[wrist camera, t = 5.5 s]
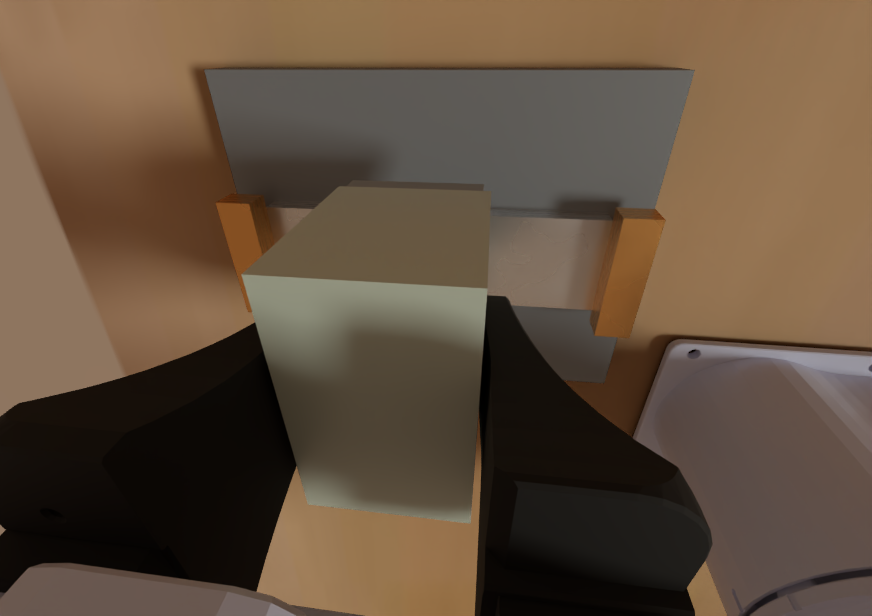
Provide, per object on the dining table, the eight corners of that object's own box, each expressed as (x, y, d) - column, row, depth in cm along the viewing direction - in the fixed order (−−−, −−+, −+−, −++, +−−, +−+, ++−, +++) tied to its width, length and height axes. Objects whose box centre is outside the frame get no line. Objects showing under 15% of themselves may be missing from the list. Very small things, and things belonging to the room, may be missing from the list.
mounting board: (679, 68, 13) (694, 70, 12) (598, 365, 19) (604, 383, 18) (224, 67, 14) (204, 69, 13) (291, 342, 21) (280, 357, 20)
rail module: (491, 184, 11) (487, 289, 6) (478, 368, 14) (470, 523, 10) (345, 180, 11) (240, 274, 7) (367, 359, 15) (308, 504, 10)
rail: (647, 200, 14) (665, 219, 12) (617, 310, 16) (629, 338, 15) (243, 187, 15) (215, 202, 14) (269, 289, 18) (248, 312, 16)
